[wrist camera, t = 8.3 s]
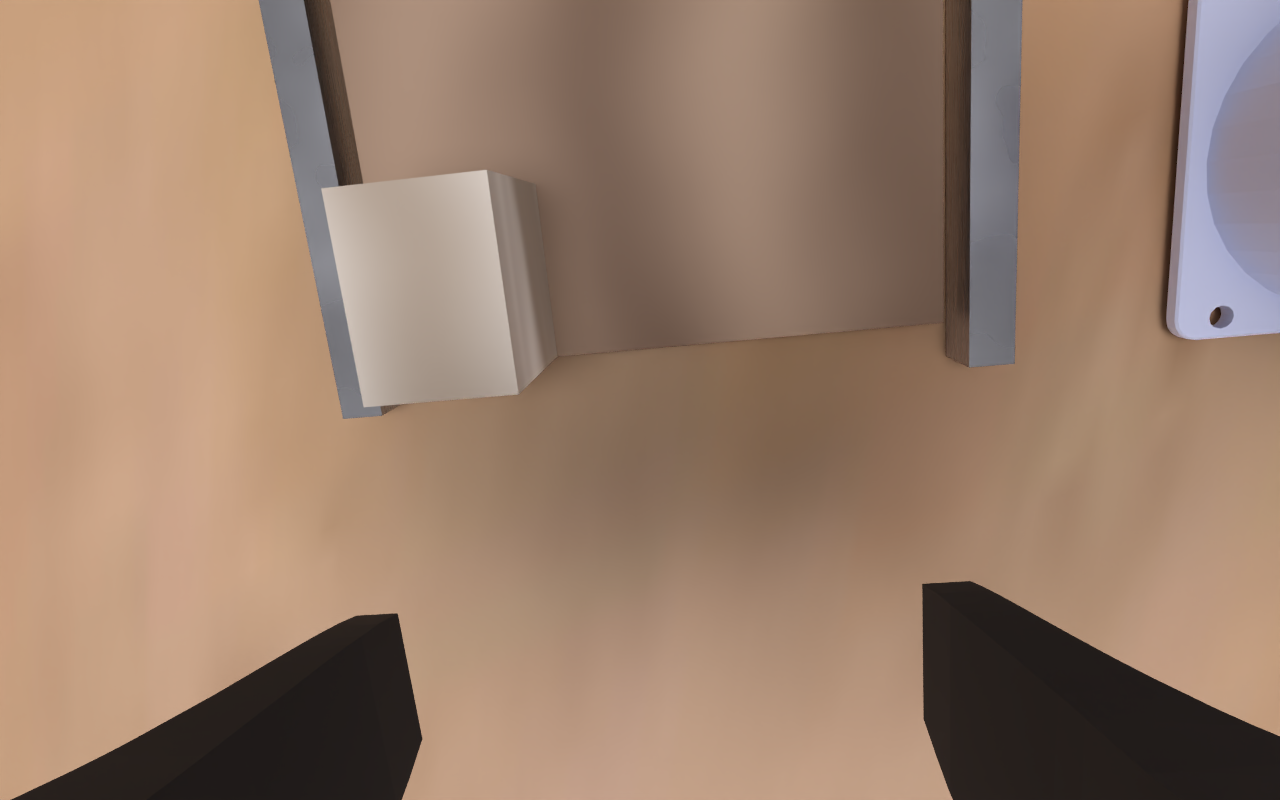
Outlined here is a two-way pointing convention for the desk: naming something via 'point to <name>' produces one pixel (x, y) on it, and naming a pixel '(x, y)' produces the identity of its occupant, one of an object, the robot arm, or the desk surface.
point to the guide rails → (974, 170)
